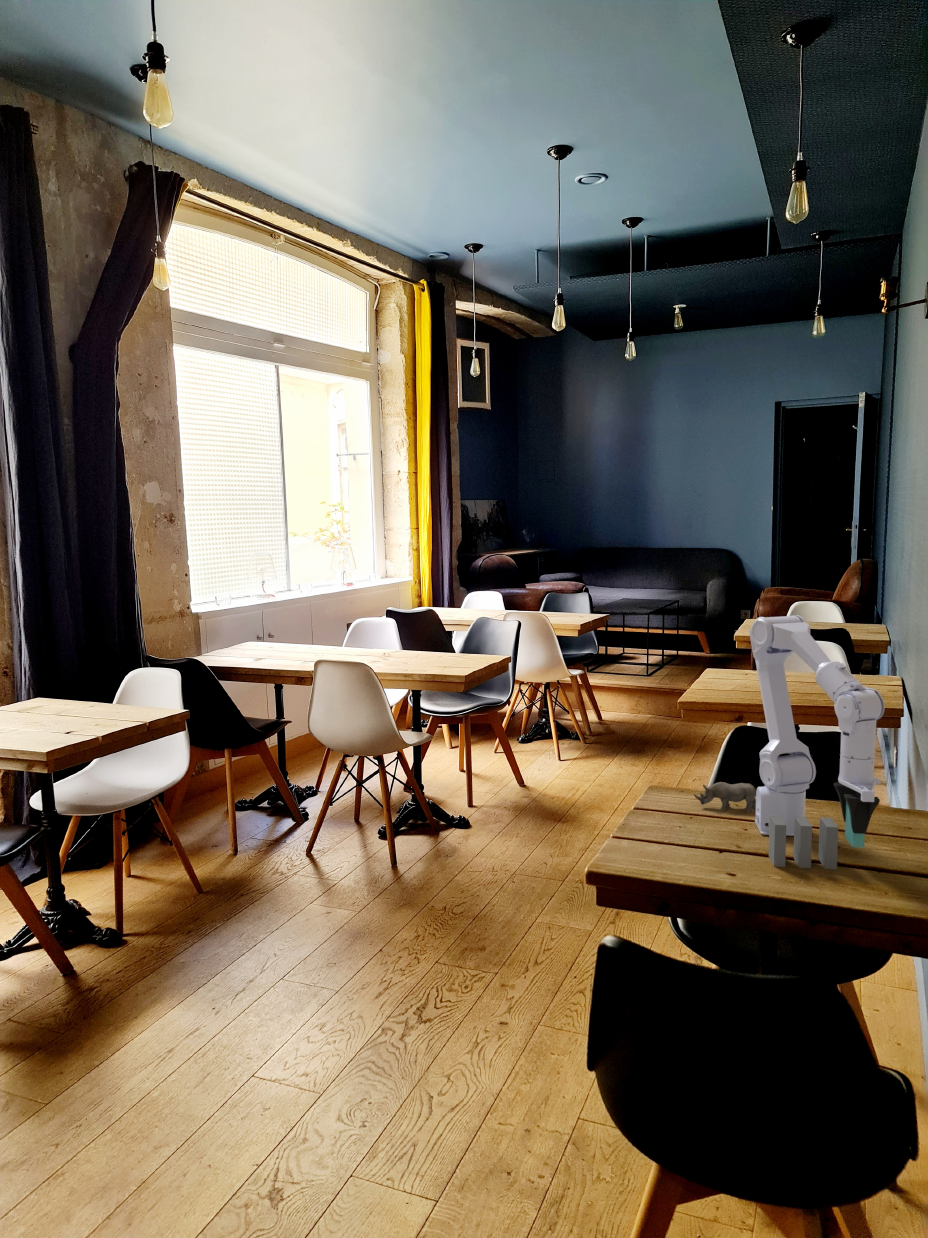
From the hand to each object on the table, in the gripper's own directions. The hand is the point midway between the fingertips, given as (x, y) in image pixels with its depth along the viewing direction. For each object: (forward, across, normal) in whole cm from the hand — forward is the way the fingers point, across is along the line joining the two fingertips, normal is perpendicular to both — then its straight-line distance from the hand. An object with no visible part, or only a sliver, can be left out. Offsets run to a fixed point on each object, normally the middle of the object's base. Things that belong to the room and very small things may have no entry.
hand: (854, 827), depth 157 cm
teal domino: (+3, 0, 0) cm, 3 cm away
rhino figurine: (+8, +29, +19) cm, 35 cm away
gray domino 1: (+7, 0, +14) cm, 15 cm away
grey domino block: (+7, 0, +4) cm, 8 cm away
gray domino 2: (+7, 0, +9) cm, 12 cm away
